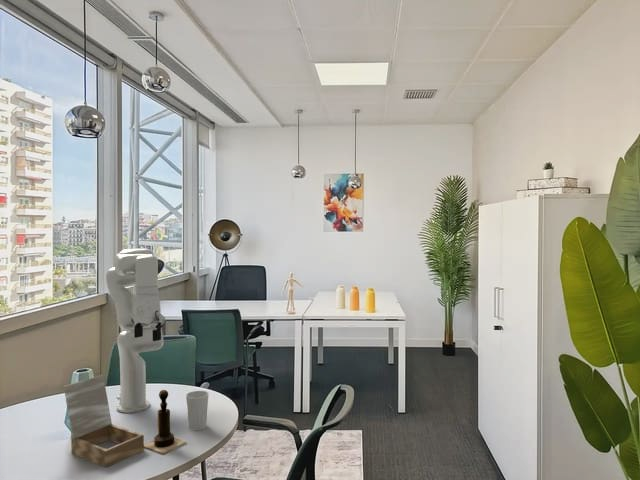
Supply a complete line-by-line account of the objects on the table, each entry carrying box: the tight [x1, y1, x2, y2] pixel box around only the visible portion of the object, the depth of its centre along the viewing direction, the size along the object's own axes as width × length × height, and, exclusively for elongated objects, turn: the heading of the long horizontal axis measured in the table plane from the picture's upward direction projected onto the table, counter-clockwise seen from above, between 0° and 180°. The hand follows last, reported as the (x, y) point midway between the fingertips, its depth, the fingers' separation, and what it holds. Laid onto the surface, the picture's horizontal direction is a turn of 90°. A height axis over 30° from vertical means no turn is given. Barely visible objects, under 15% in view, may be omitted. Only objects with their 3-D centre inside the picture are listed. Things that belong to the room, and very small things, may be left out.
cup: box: [185, 390, 210, 431], centre depth 187 cm, size 8×8×12 cm
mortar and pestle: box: [153, 389, 175, 447], centre depth 172 cm, size 7×6×18 cm
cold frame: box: [63, 374, 145, 468], centre depth 168 cm, size 22×14×22 cm, turn 58°
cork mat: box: [144, 437, 187, 455], centre depth 172 cm, size 10×10×1 cm
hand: (147, 338), depth 182 cm, fingers open, 9 cm apart
